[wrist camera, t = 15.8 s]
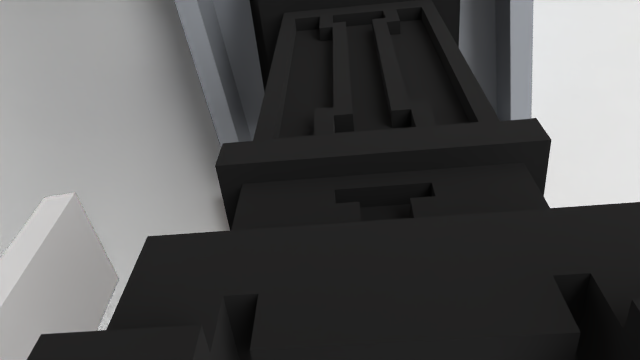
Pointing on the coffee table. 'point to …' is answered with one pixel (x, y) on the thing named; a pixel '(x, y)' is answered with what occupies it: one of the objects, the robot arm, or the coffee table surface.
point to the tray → (246, 79)
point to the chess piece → (379, 218)
